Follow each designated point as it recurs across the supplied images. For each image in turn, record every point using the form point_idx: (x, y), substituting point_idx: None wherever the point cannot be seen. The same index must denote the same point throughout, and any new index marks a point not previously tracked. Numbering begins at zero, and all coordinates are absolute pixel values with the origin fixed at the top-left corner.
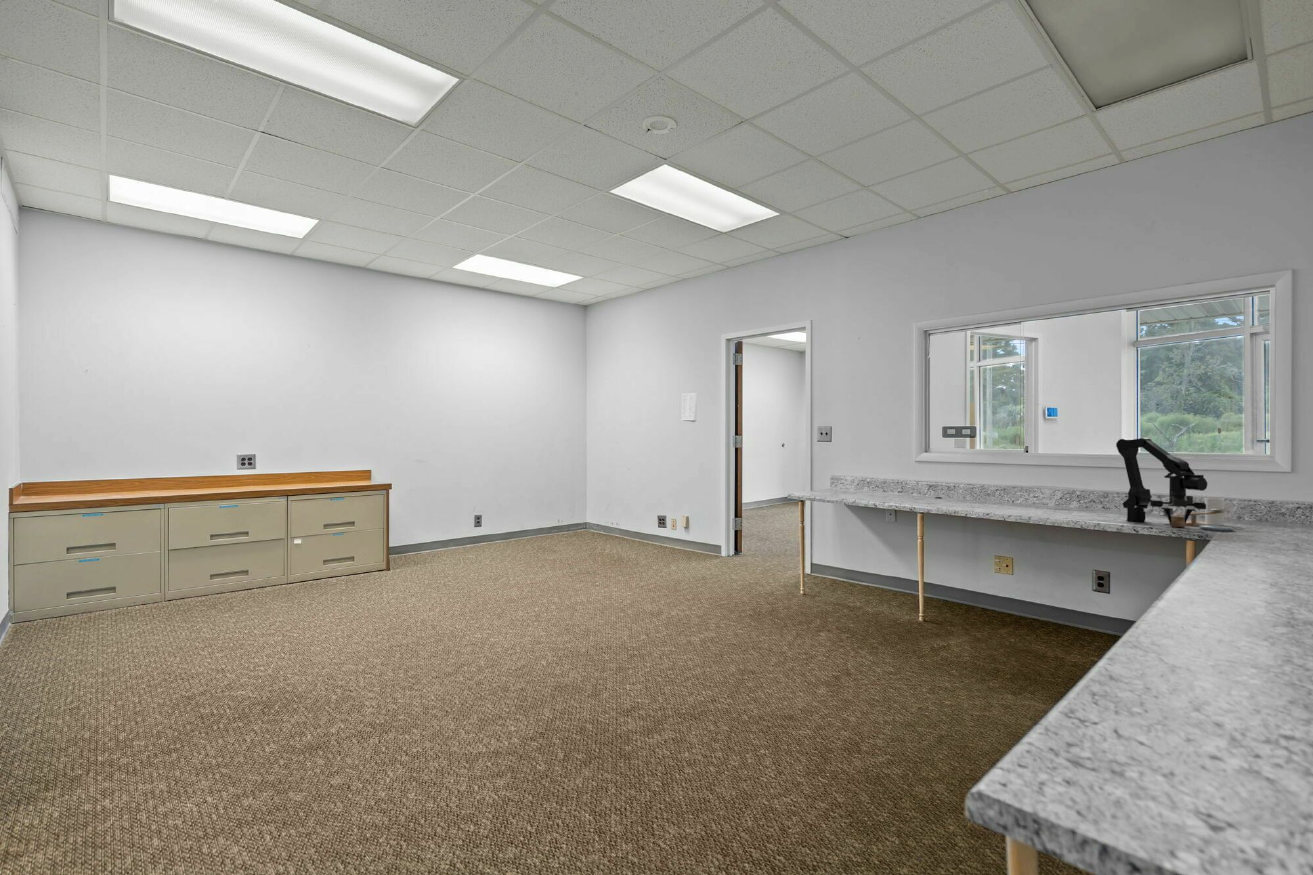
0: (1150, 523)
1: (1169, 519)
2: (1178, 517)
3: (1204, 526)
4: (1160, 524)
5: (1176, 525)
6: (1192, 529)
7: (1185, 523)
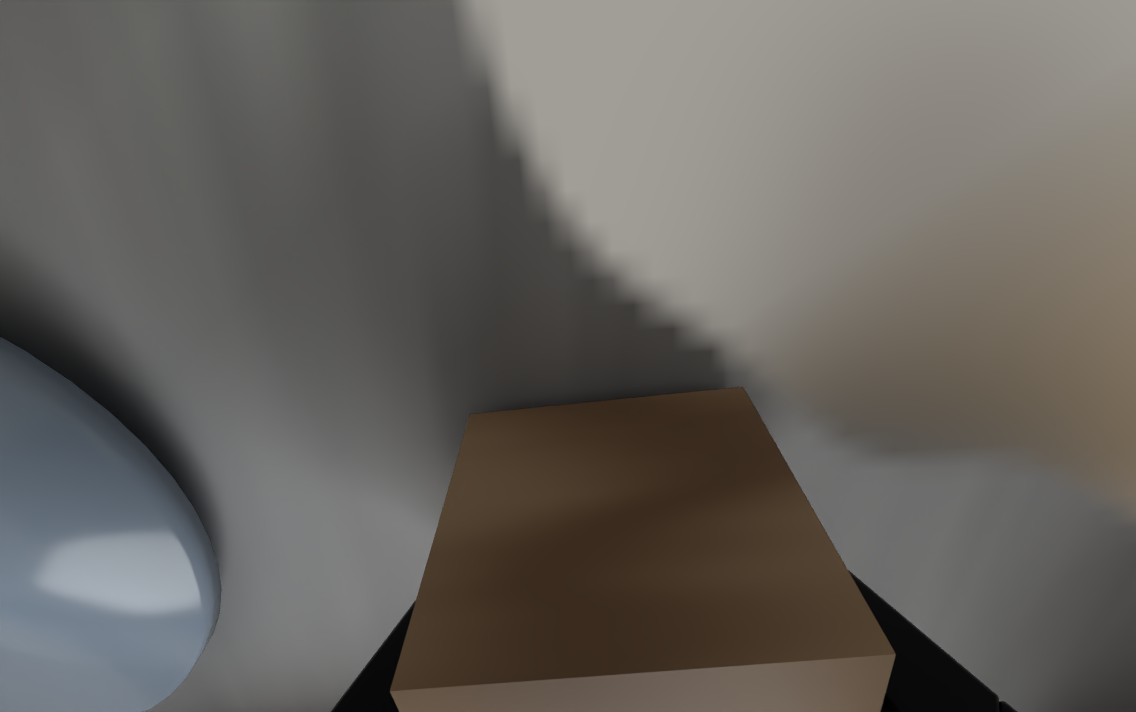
0: (990, 686)
1: None
2: (621, 633)
3: (54, 488)
4: None
5: (643, 415)
6: (281, 224)
7: None
